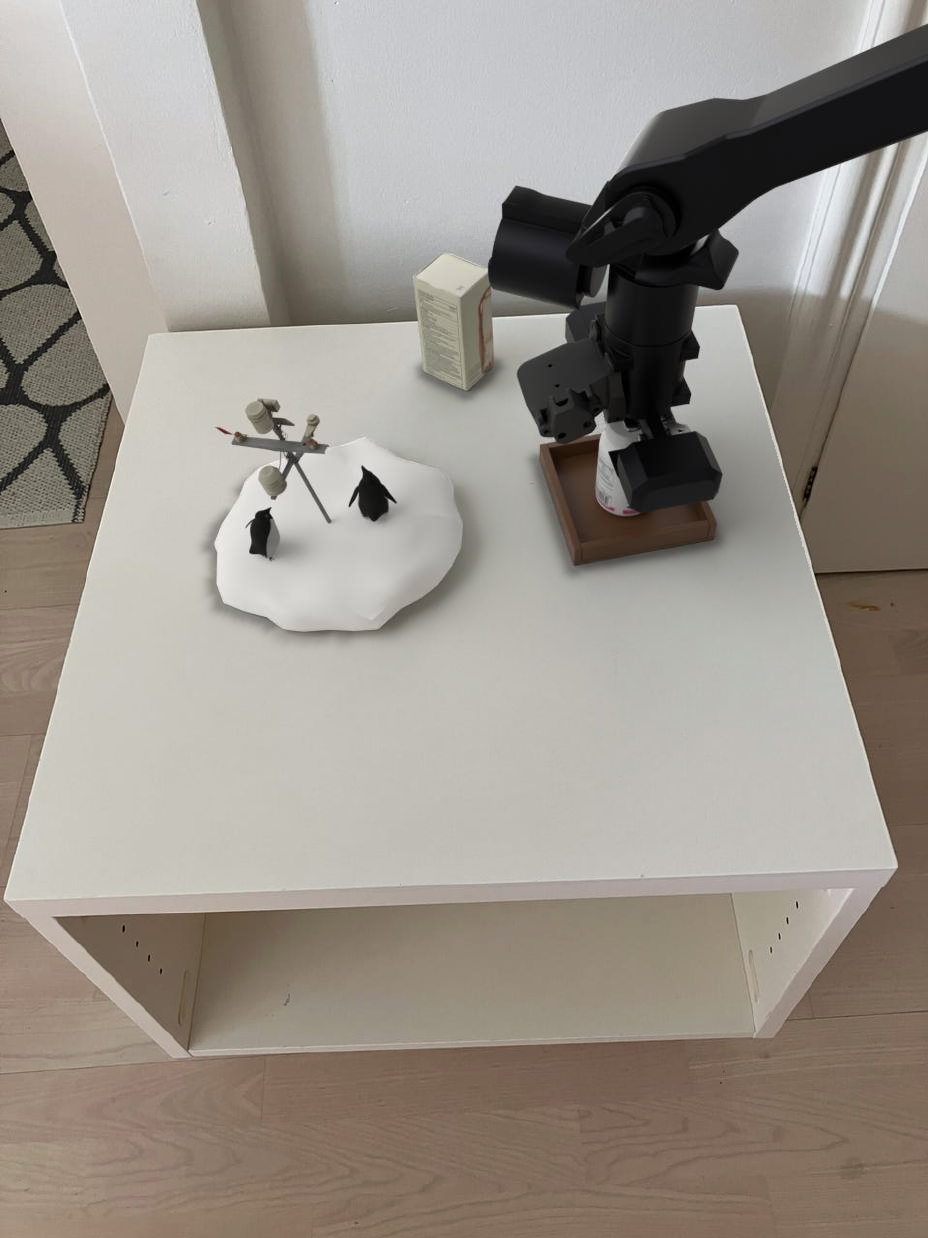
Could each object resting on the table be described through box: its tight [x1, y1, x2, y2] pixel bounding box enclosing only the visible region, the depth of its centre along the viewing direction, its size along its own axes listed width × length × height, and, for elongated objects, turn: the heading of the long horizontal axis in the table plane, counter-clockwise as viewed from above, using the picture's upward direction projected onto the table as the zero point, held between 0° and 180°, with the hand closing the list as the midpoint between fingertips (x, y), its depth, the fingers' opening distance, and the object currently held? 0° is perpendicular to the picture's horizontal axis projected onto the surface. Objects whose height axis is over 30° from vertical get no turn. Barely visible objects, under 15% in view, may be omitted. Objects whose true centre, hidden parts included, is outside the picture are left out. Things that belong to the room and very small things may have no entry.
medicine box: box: [412, 250, 495, 392], centre depth 87 cm, size 5×4×10 cm
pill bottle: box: [595, 421, 643, 516], centre depth 78 cm, size 5×5×8 cm
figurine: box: [213, 397, 464, 632], centre depth 74 cm, size 20×18×16 cm
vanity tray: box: [538, 430, 718, 566], centre depth 81 cm, size 11×11×2 cm
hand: (627, 477), depth 80 cm, fingers closed on pill bottle, 5 cm apart
